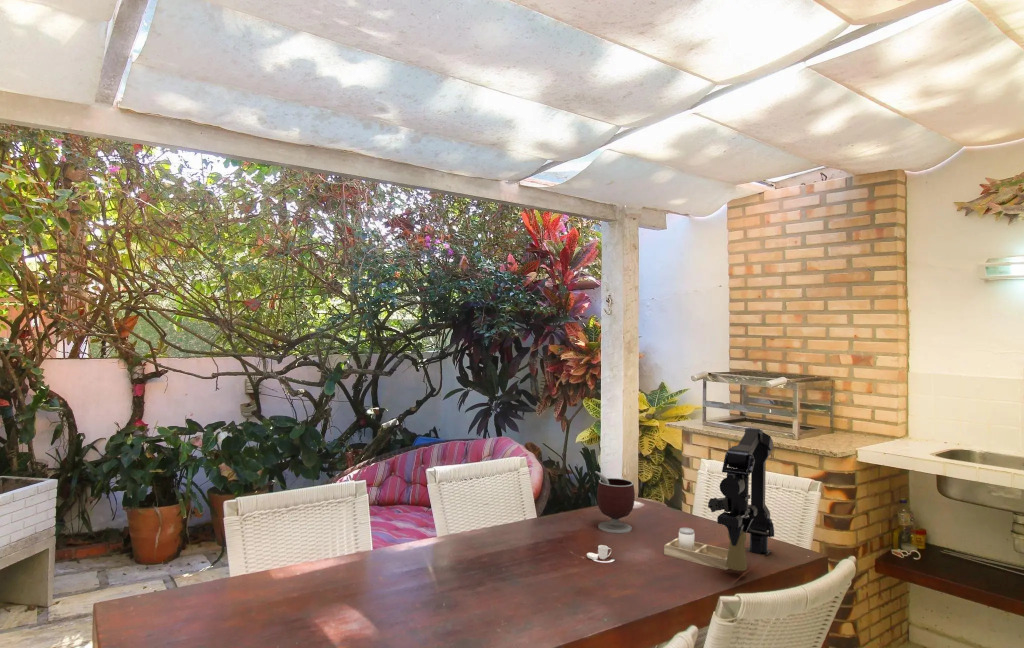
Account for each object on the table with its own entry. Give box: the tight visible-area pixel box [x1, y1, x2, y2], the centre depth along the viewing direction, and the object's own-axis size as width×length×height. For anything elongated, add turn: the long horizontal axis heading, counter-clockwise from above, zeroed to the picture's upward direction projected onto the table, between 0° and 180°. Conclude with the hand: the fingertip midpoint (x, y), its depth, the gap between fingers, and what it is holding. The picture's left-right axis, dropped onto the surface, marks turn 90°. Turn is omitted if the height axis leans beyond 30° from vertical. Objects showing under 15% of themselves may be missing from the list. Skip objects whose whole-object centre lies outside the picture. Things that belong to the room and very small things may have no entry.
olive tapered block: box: [726, 531, 748, 571], centre depth 193 cm, size 6×6×11 cm
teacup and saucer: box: [586, 544, 616, 564], centre depth 205 cm, size 9×8×4 cm
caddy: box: [663, 537, 730, 571], centre depth 207 cm, size 11×20×4 cm, turn 52°
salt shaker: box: [678, 527, 696, 551], centre depth 210 cm, size 5×5×8 cm
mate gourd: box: [594, 471, 636, 534], centre depth 239 cm, size 16×14×20 cm
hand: (737, 543), depth 193 cm, fingers closed on olive tapered block, 5 cm apart
